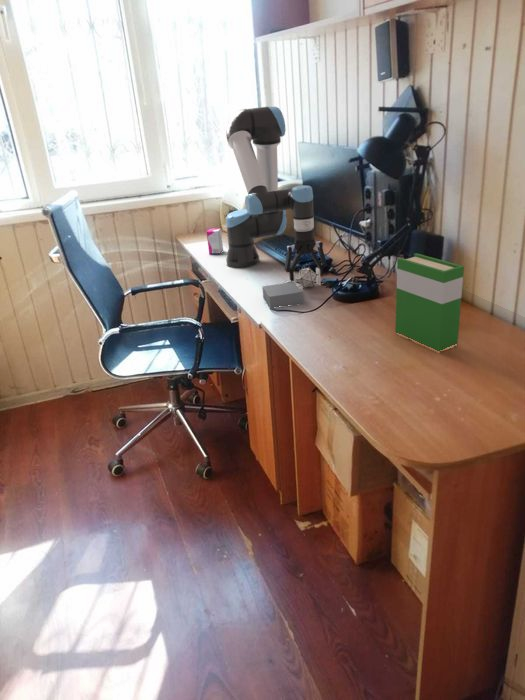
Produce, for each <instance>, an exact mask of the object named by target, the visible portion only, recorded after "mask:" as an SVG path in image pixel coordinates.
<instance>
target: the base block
mask: <svg viewBox="0 0 525 700" xmlns="http://www.w3.org/2000/svg"><path fill="white" fill-rule="evenodd" d="M262 297H263V300H264V302H265V301H266V302H265V303H266V304H268V305H267V306H268V308H269V307H270V308H274V307H279V306H287V307H289V306H288V305H293V306H298V305H297V304H300V305H303V292H302V290H301V289H300V288H299V286H297V283H296V284H295V283H294V282H292V281H291V282H290V281H288V282H283V283H276V284H270V285H263V286H262ZM270 308H269V309H270ZM274 309H275V308H274Z"/></svg>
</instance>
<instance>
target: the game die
mask: <svg viewBox="0 0 525 700" xmlns="http://www.w3.org/2000/svg"><path fill="white" fill-rule="evenodd" d="M297 270H298V273H297V275H296V283H298V284H299V285H300V286H302V290H305V288H308V287H315V282H316V276H317V275H319V274H316V271H314V270H313V269H312V268H311V265H308V267H305V268H301V269H300V267H298V269H297Z"/></svg>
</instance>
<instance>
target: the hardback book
mask: <svg viewBox="0 0 525 700" xmlns="http://www.w3.org/2000/svg"><path fill="white" fill-rule="evenodd" d="M396 265H397V266H396V267H397V268H396V295H395V296H396V297H395V298H396V299H395V331H394V333H395V332H396V333H399V334H402V335H404V336H406V337H408V338H411V339H413V340H415V341H417V342H419V343H421V344H424V345H426V346H428V347H431V348H433V349H435V350H437V351H440V350H443V349H445V348H447V347H450V346H452V345H455V344H457V343H458V341H459V333H460V332H459V331H460V330H459V329H460V320H461V319H460V318H461V308H462V306H461V305H462V295H463V294H462V293H463V285H464V283H463V282H464V271H465V266H464V265H462V264H461V265H460V264H458V263H453V262H451V261H446V260H442V259H439V258H435V257H432V256H427V255H425V254H421V253H414V254H413V257H409V258H405V259H404V258H402V257H398V258H397V263H396ZM458 344H459V343H458ZM458 344H457V345H458Z"/></svg>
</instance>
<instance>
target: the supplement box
mask: <svg viewBox="0 0 525 700" xmlns="http://www.w3.org/2000/svg"><path fill="white" fill-rule="evenodd" d="M206 239H207V246H208V253H209V255H221V254H222V253H223V252H224V246H223V238H222V228H209V229H208V230H206ZM222 251H223V252H222ZM221 252H222V253H221ZM218 253H219V254H218ZM220 253H221V254H220Z"/></svg>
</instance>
